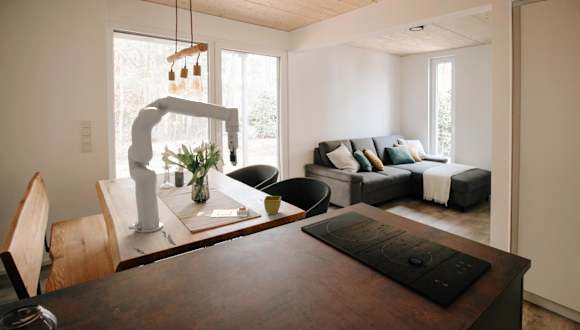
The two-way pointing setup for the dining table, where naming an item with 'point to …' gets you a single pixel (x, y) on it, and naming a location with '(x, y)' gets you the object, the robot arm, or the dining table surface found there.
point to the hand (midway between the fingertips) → (233, 160)
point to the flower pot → (272, 204)
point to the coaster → (204, 214)
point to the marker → (236, 159)
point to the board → (230, 213)
